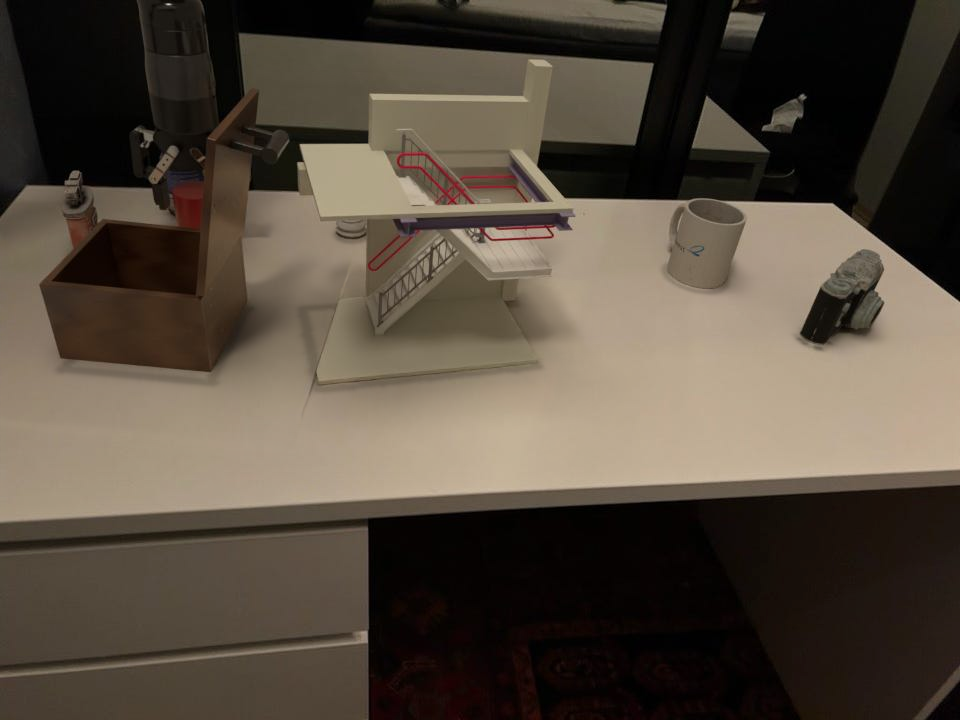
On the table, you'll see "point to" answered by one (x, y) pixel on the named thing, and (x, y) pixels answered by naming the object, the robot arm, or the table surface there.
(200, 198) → the can
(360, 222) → the rook chess piece
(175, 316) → the chest
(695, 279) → the mug
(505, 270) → the staircase
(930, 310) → the table surface
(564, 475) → the table surface
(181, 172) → the pill bottle
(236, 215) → the lid
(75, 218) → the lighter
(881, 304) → the camera
